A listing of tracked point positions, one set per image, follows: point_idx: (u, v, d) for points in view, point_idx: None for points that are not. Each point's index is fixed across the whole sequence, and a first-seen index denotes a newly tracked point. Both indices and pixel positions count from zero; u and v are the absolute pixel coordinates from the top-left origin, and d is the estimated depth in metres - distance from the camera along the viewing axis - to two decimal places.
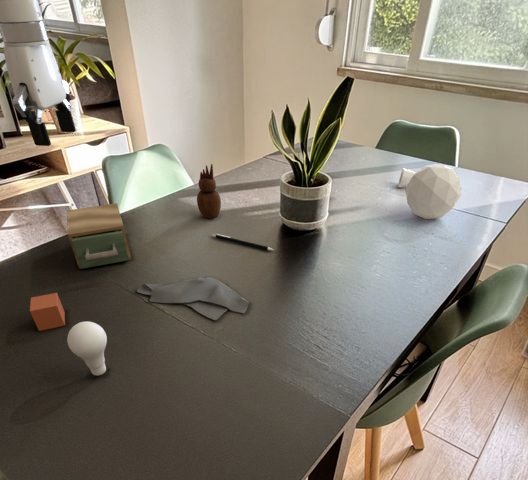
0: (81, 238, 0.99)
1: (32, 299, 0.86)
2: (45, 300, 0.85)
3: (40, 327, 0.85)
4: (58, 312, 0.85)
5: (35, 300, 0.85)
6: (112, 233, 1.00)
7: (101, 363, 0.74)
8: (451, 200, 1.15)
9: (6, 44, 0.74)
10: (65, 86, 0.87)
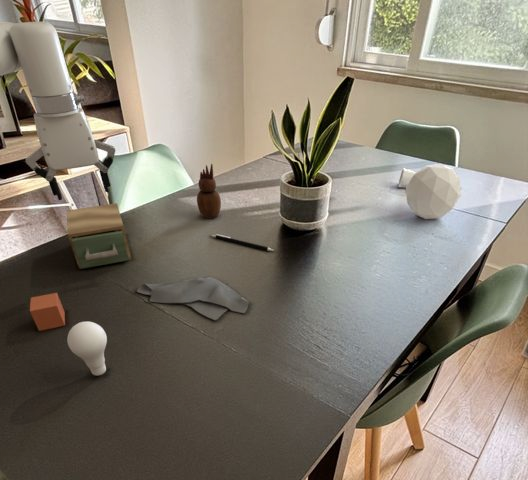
0: (81, 238, 0.99)
1: (32, 299, 0.86)
2: (45, 300, 0.85)
3: (40, 327, 0.85)
4: (58, 312, 0.85)
5: (35, 300, 0.85)
6: (112, 233, 1.00)
7: (101, 363, 0.74)
8: (451, 200, 1.15)
9: None
10: (109, 150, 0.88)
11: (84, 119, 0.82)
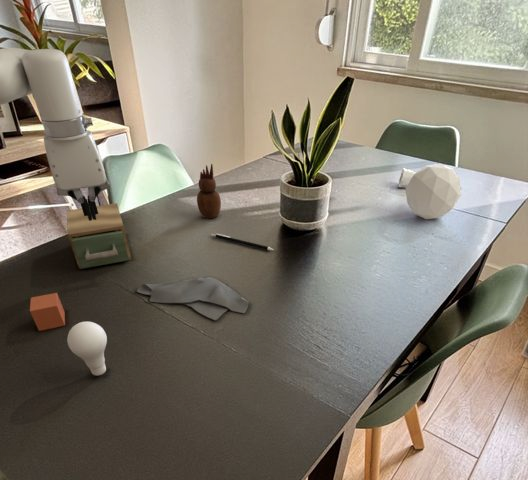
0: (81, 238, 0.99)
1: (32, 299, 0.86)
2: (45, 300, 0.85)
3: (40, 327, 0.85)
4: (58, 312, 0.85)
5: (35, 300, 0.85)
6: (112, 233, 1.00)
7: (101, 363, 0.74)
8: (451, 200, 1.15)
9: None
10: (104, 184, 0.91)
11: (92, 142, 0.84)
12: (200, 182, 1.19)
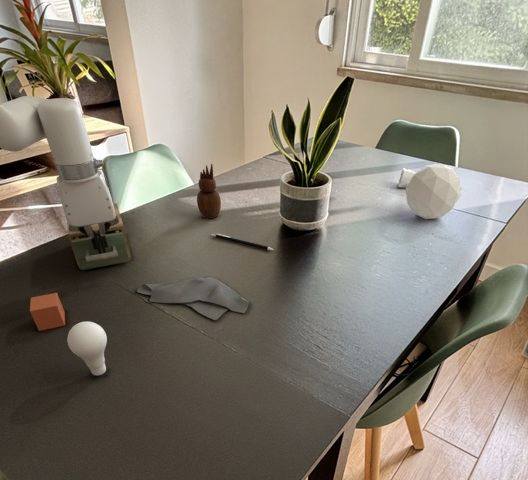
0: (81, 239, 0.98)
1: (32, 299, 0.86)
2: (45, 300, 0.85)
3: (40, 327, 0.85)
4: (58, 312, 0.85)
5: (35, 300, 0.85)
6: (112, 234, 1.00)
7: (101, 363, 0.74)
8: (451, 200, 1.15)
9: None
10: (113, 219, 0.95)
11: (103, 182, 0.88)
12: (200, 182, 1.19)
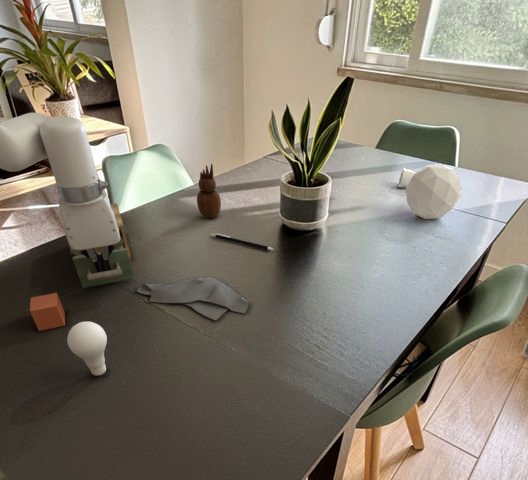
0: (83, 256, 0.92)
1: (32, 299, 0.86)
2: (45, 300, 0.85)
3: (40, 327, 0.85)
4: (58, 312, 0.85)
5: (35, 300, 0.85)
6: (116, 250, 0.94)
7: (101, 363, 0.74)
8: (451, 200, 1.15)
9: None
10: (117, 242, 0.90)
11: (107, 204, 0.84)
12: (200, 182, 1.19)
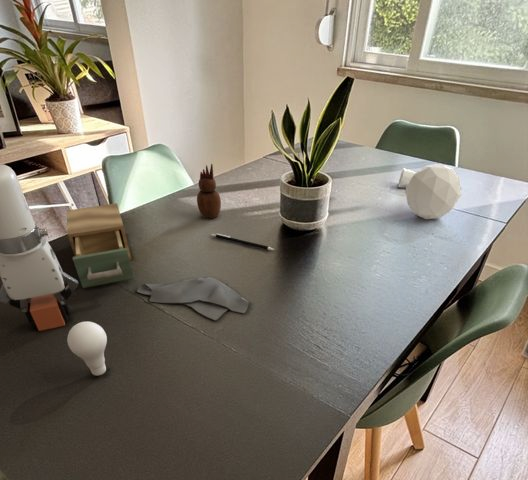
0: (83, 256, 0.92)
1: (32, 299, 0.86)
2: (45, 300, 0.85)
3: (40, 327, 0.85)
4: (58, 312, 0.85)
5: (35, 300, 0.85)
6: (116, 250, 0.94)
7: (101, 363, 0.74)
8: (451, 200, 1.15)
9: None
10: (71, 284, 0.84)
11: (47, 253, 0.78)
12: (200, 182, 1.19)
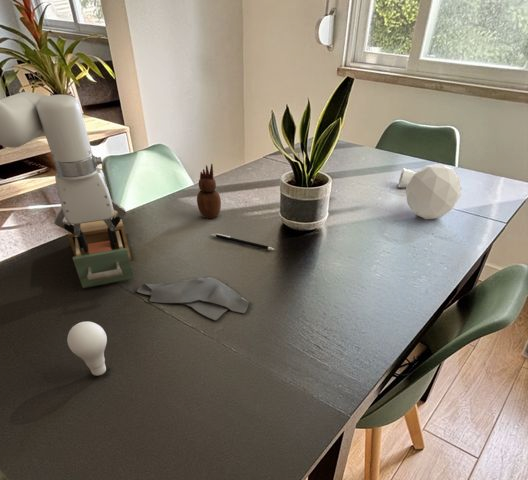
0: (83, 256, 0.92)
1: (89, 245, 0.99)
2: (100, 246, 0.98)
3: None
4: None
5: (92, 246, 0.98)
6: (116, 250, 0.94)
7: (101, 363, 0.74)
8: (451, 200, 1.15)
9: None
10: (120, 212, 0.94)
11: (101, 179, 0.88)
12: (200, 182, 1.19)
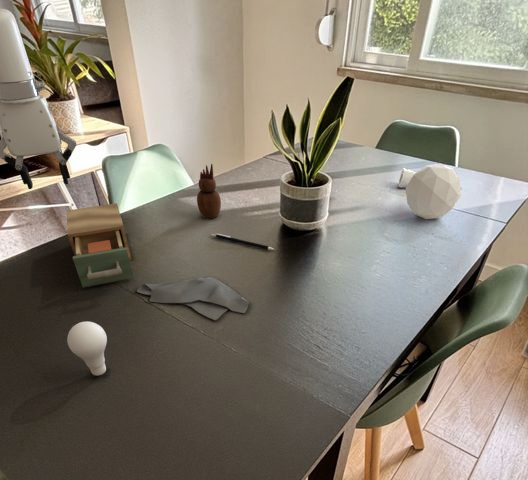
0: (83, 255, 0.92)
1: (89, 244, 0.99)
2: (100, 245, 0.98)
3: None
4: None
5: (91, 245, 0.98)
6: (116, 250, 0.94)
7: (101, 363, 0.74)
8: (451, 200, 1.15)
9: None
10: (69, 143, 0.90)
11: (45, 106, 0.83)
12: (200, 182, 1.19)
